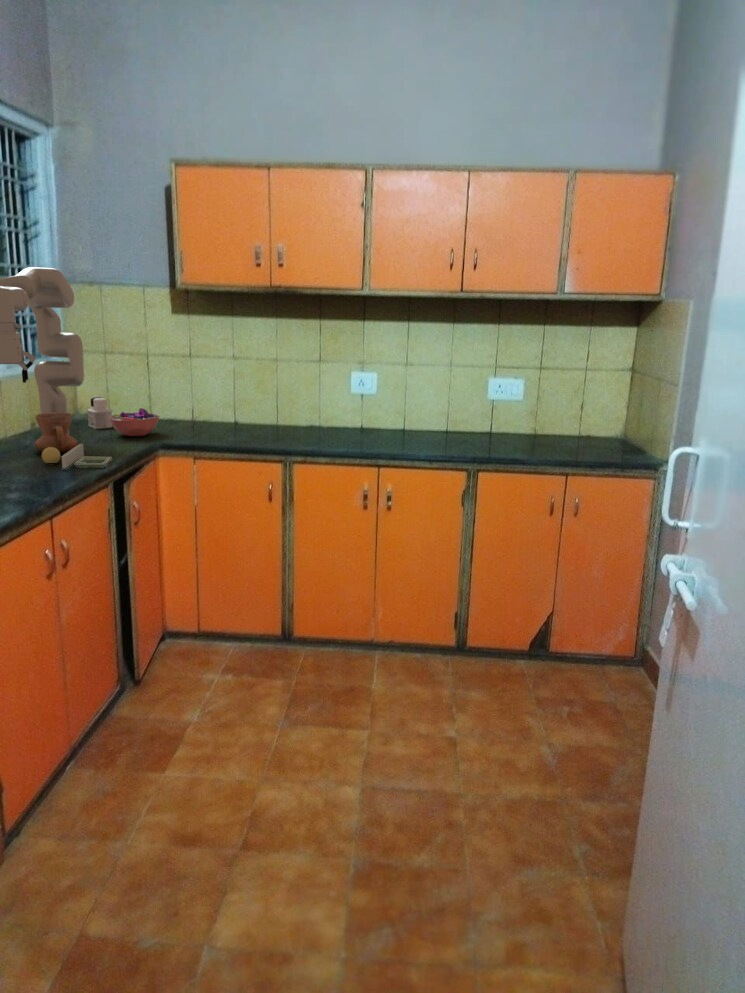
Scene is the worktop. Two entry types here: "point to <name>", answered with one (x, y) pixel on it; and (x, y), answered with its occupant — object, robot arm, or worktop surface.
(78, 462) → the tray
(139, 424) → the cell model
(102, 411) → the container
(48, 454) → the ball
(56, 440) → the ceramic jug
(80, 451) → the wall
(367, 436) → the worktop surface
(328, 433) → the worktop surface
